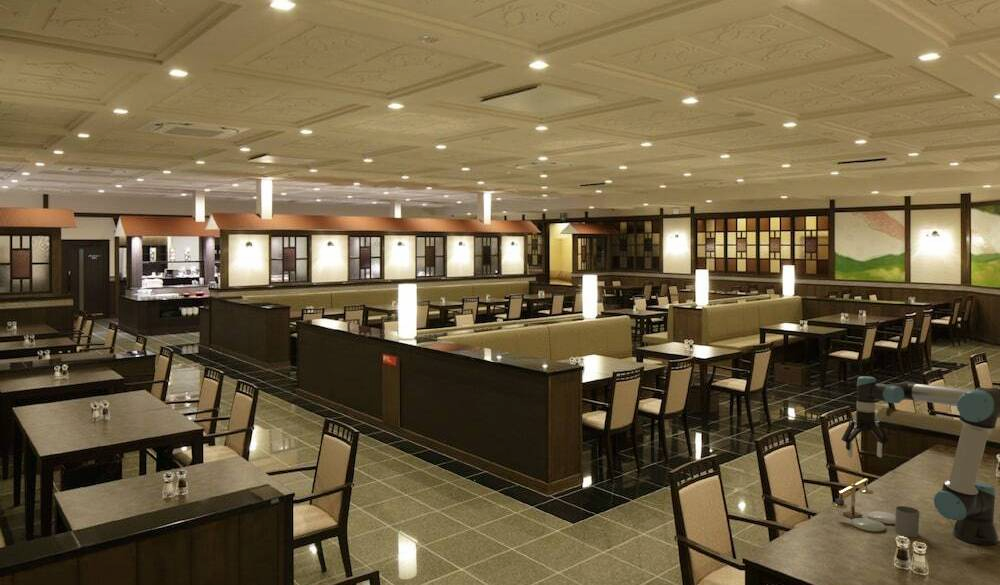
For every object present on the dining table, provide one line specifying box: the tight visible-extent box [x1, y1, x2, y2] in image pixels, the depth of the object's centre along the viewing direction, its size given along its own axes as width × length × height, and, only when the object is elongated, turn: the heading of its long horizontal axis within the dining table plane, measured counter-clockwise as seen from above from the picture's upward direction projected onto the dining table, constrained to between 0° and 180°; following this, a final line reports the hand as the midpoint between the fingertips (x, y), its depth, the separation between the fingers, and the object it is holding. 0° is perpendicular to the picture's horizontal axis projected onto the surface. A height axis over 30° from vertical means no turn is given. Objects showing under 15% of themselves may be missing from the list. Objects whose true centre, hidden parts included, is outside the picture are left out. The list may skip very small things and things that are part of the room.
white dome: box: [867, 510, 896, 525], centre depth 299 cm, size 13×13×1 cm
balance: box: [832, 477, 875, 520], centre depth 302 cm, size 22×6×16 cm, turn 113°
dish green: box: [850, 517, 886, 533], centre depth 291 cm, size 13×13×1 cm
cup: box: [894, 505, 920, 538], centre depth 284 cm, size 8×8×10 cm
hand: (864, 456), depth 310 cm, fingers open, 13 cm apart
